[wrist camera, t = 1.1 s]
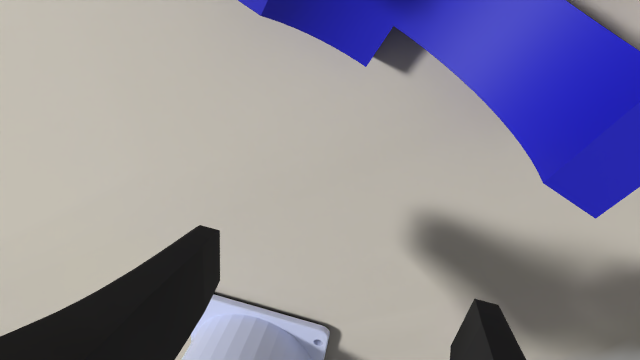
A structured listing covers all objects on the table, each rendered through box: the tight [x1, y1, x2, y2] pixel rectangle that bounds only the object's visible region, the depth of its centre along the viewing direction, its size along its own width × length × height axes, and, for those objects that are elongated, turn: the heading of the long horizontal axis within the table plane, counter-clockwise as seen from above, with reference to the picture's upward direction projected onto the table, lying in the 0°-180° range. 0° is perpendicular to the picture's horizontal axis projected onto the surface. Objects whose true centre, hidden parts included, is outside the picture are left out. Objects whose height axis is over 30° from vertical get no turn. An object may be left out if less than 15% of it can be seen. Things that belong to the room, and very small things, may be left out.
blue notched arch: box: [238, 0, 640, 219], centre depth 11 cm, size 12×4×6 cm, turn 60°
